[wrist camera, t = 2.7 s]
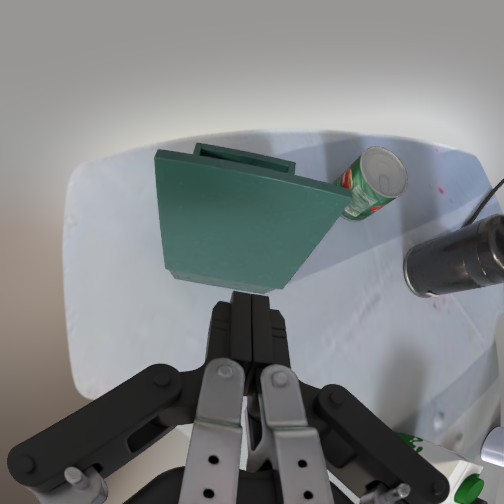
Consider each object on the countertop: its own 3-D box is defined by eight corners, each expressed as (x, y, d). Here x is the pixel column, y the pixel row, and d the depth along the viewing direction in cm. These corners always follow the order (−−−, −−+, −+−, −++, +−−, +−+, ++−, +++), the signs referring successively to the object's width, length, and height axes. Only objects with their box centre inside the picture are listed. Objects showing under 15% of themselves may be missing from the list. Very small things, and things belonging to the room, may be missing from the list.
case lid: (157, 148, 18) (153, 157, 17) (352, 189, 19) (353, 198, 19) (166, 262, 32) (165, 269, 31) (282, 282, 33) (282, 289, 33)
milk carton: (394, 476, 39) (464, 518, 20) (361, 466, 39) (432, 517, 20) (418, 436, 42) (496, 466, 22) (388, 423, 42) (471, 458, 22)
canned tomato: (331, 171, 49) (361, 138, 39) (372, 185, 50) (406, 157, 40) (327, 214, 47) (359, 187, 37) (369, 227, 48) (408, 204, 38)
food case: (196, 176, 45) (196, 142, 36) (277, 192, 47) (295, 162, 37) (174, 278, 41) (166, 266, 32) (263, 294, 43) (281, 286, 34)
